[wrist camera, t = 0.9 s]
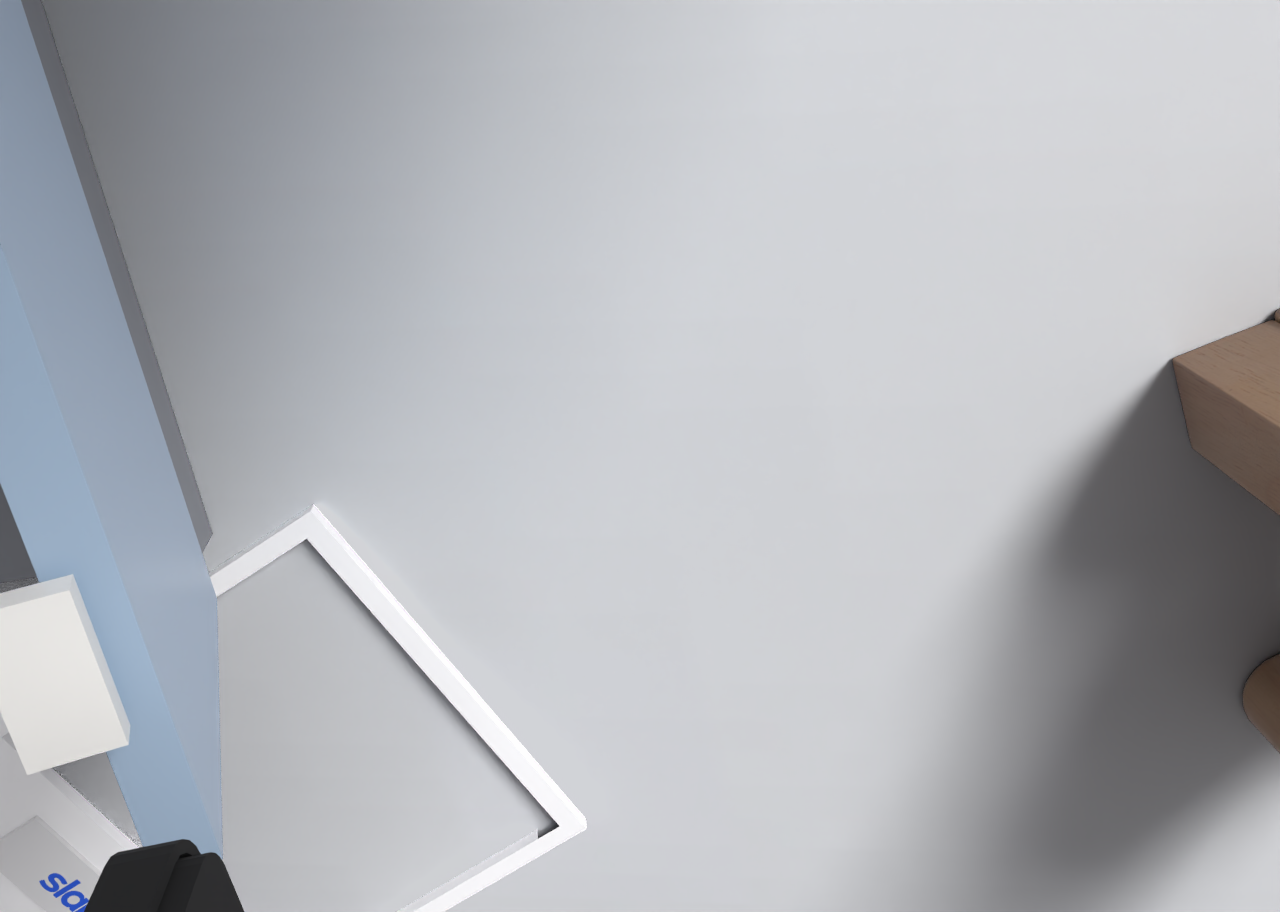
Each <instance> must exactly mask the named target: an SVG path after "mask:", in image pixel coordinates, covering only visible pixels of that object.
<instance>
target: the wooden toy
mask: <svg viewBox="0 0 1280 912" xmlns="http://www.w3.org/2000/svg"><path fill="white" fill-rule="evenodd" d="M1172 360H1173V366H1174V371H1175V376H1176V380H1177V385H1178V389H1179V394H1180V398H1181V403H1182V407H1183V412H1184V416H1185V421H1186V425H1187V430H1188V434H1189V438H1190V442H1191V446H1192V448H1193V449H1194V450H1195V451H1197V452H1198V453H1199V454H1201V455H1202V456H1203V457H1204V458H1206V459H1207V460H1208V461H1210V462H1211V463H1212V464H1213V465H1215V466H1216V467H1217V468H1218V469H1220V470H1221V471H1222V472H1224V473H1225V474H1226V475H1227V476H1229V477H1230V478H1231V479H1233V480H1234V481H1235V482H1236V483H1238V484H1239V485H1240V486H1242V487H1243V488H1244V489H1246V490H1247V491H1248V492H1249V493H1251V494H1252V495H1253V496H1255V497H1256V498H1257V499H1259V500H1260V501H1261V502H1262V503H1264V504H1265V505H1266V506H1268V507H1269V508H1270V509H1272V510H1273V511H1274V512H1275V513H1277V514H1278V515H1279V516H1280V308H1279V309H1278V310H1277V311H1276V312H1275V321H1274V320H1270V321H1267V322H1264V323H1262V324H1259V325H1257V326H1254V327H1251V328H1249V329H1246V330H1243V331H1241V332H1238V333H1236V334H1233V335H1230V336H1228V337H1225V338H1222V339H1220V340H1217V341H1215V342H1212V343H1210V344H1207V345H1205V346H1202V347H1200V348H1197V349H1195V350H1192V351H1190V352H1187V353H1185V354H1182V355H1180V356H1177V357H1175V358H1173V359H1172ZM1243 707H1244V710H1245V713H1246V715H1247V717H1248V719H1249V720H1250V722H1251V723H1252V724H1253V725H1254V726H1255V727H1256V728H1257V729H1258V730H1259V731H1260V732H1261V734H1262V735H1263V736H1264V737H1265V738H1266V739H1267V740H1268V741H1269V742H1270V743H1271V744H1272V745H1273V747H1274V748H1275V749H1276V750H1277V751H1278V752H1279V753H1280V654H1278V655H1276V656H1274V657H1272V658H1270V659H1268V660H1266V661H1264V662H1263V663H1262V664H1261V665H1260V666H1259V667H1257V668H1256V669H1255V670H1254V671H1253V673H1252V674H1251V675H1250V677H1249V678H1248V680H1247V681H1246V684H1245V687H1244V690H1243Z"/></svg>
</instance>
